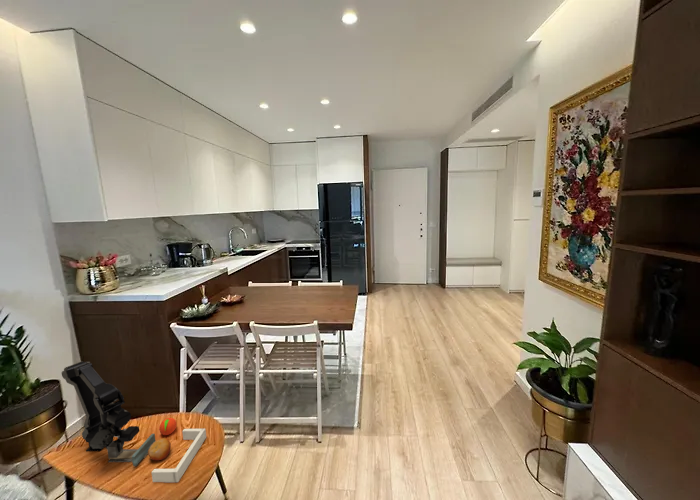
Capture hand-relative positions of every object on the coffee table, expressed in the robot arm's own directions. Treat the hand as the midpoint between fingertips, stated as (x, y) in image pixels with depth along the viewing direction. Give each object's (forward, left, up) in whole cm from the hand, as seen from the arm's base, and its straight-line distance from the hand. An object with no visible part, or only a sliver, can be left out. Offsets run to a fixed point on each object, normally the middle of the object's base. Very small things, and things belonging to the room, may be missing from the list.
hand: (115, 451), depth 123 cm
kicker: (+5, 0, -2) cm, 6 cm away
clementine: (+15, +12, -3) cm, 19 cm away
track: (+6, 0, -2) cm, 6 cm away
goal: (+29, -1, -2) cm, 29 cm away
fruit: (+19, 0, -3) cm, 19 cm away
